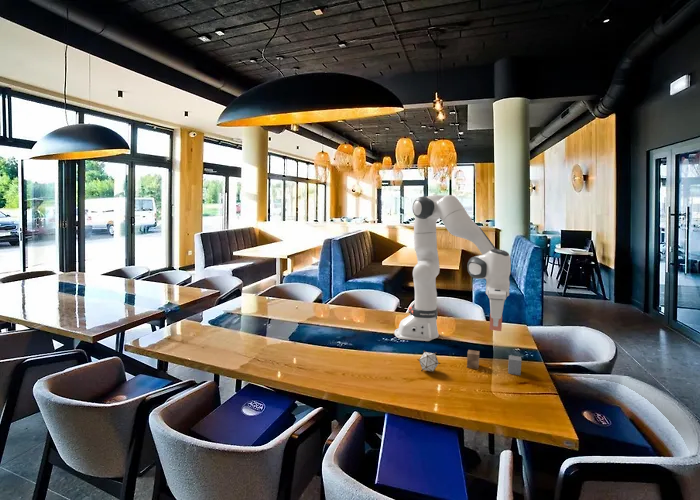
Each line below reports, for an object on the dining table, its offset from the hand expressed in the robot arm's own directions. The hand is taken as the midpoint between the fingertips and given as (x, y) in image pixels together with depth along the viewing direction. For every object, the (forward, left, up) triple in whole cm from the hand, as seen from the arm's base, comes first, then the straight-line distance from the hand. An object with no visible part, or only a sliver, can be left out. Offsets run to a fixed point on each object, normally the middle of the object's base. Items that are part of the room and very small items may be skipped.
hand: (495, 323), depth 159 cm
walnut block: (-8, +3, -19) cm, 21 cm away
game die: (-27, -3, -19) cm, 33 cm away
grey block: (+7, -3, -19) cm, 21 cm away
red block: (0, 0, -2) cm, 2 cm away
